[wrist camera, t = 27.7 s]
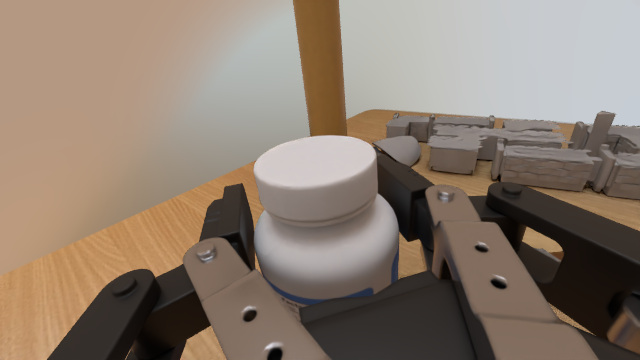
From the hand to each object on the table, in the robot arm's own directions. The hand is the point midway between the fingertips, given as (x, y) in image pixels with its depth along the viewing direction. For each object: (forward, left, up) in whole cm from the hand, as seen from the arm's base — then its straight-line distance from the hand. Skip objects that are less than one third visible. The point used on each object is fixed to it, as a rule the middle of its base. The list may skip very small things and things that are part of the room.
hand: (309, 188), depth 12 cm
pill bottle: (0, -3, -7) cm, 8 cm away
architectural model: (+20, +14, -7) cm, 25 cm away
